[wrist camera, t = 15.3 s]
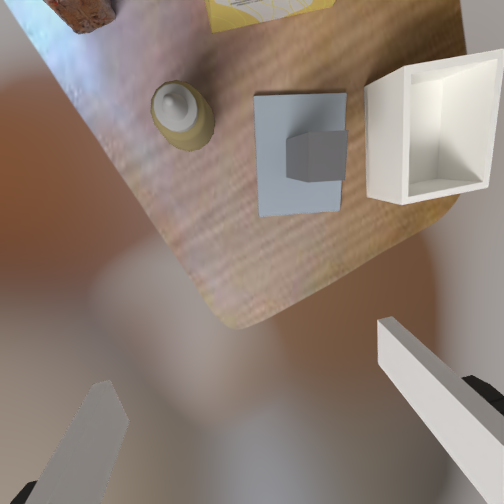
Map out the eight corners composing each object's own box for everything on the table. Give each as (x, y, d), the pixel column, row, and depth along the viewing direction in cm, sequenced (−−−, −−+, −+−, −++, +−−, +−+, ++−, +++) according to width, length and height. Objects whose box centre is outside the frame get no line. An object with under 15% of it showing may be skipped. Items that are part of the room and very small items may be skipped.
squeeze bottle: (172, 86, 40) (136, 31, 23) (222, 110, 42) (224, 74, 25) (157, 140, 42) (115, 125, 25) (206, 160, 44) (197, 159, 27)
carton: (363, 86, 43) (404, 65, 34) (444, 72, 44) (506, 48, 34) (366, 196, 49) (401, 204, 40) (437, 182, 50) (488, 187, 40)
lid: (252, 97, 42) (266, 70, 29) (343, 94, 43) (392, 67, 31) (258, 215, 48) (271, 234, 36) (337, 209, 49) (376, 225, 37)
